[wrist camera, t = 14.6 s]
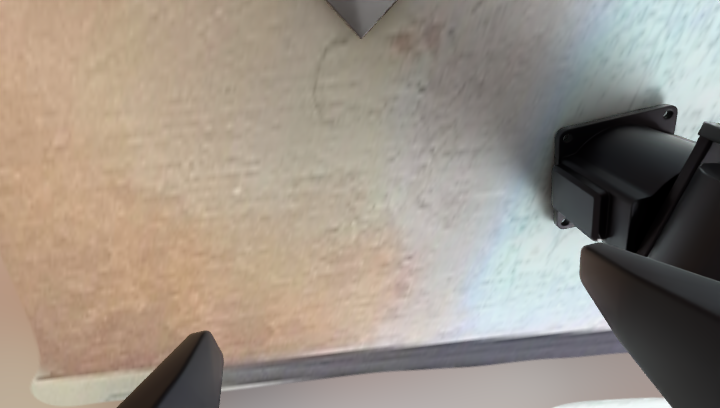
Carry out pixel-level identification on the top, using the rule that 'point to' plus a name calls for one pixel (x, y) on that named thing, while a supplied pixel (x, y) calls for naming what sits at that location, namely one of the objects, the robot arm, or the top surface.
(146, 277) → the top surface
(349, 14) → the board
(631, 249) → the robot arm
